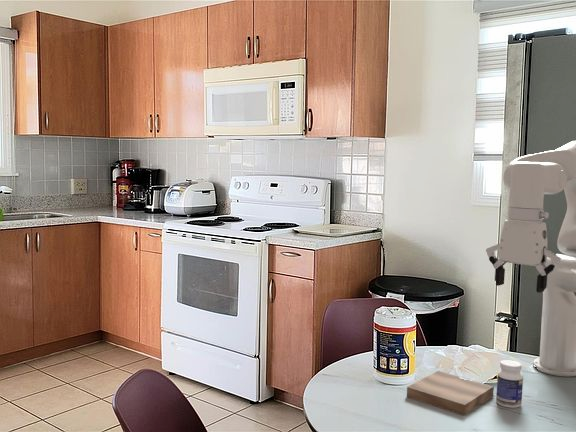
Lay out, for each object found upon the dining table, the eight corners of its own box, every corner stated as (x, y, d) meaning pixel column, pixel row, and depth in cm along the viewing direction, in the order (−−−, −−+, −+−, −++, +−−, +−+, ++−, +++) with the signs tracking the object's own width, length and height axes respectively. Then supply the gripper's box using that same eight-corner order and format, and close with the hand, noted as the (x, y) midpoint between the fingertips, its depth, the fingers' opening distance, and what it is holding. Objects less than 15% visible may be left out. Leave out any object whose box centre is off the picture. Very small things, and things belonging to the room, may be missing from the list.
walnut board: (437, 380, 163) (438, 370, 163) (493, 396, 153) (493, 386, 153) (406, 396, 152) (407, 386, 152) (464, 415, 142) (464, 404, 142)
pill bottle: (523, 409, 145) (525, 368, 144) (497, 407, 146) (499, 366, 145) (519, 399, 151) (521, 359, 150) (494, 397, 152) (496, 357, 151)
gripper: (569, 218, 143) (563, 292, 144) (496, 212, 155) (491, 280, 156) (557, 219, 138) (551, 296, 139) (482, 213, 149) (477, 284, 151)
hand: (519, 288), depth 148 cm, fingers open, 9 cm apart
